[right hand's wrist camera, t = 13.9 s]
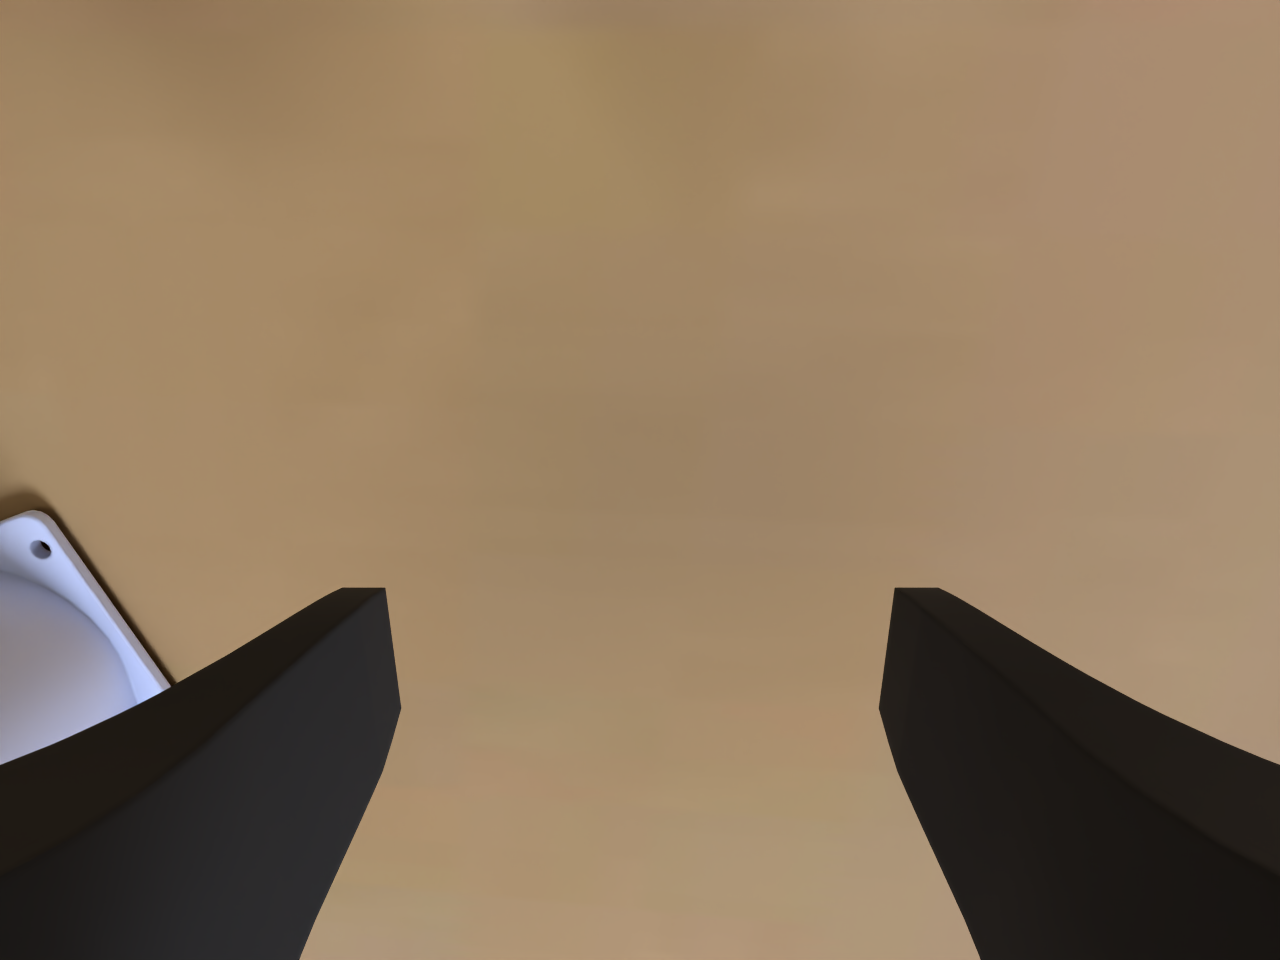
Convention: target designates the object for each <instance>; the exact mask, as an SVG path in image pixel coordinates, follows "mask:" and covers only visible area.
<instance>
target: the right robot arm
mask: <svg viewBox="0 0 1280 960" xmlns="http://www.w3.org/2000/svg"><path fill="white" fill-rule="evenodd" d="M41 541H42V542H45V543H46V544H47V545H48V546H49V547H50V550H51V551H48V550H46V549H45V548H44V547H43V546H42V544H41ZM400 711H401V703H400V696H399V688H398V681H397V673H396V666H395V658H394V650H393V643H392V635H391V628H390V620H389V613H388V605H387V598H386V590H385V588H341V589H339V590H336V591H334V592H332V593H330V594H328V595H326V596H325V597H323V598H321V599H319V600H318V601H316V602H314V603H312V604H311V605H309V606H307V607H306V608H304V609H302V610H301V611H299V612H297V613H296V614H294V615H292V616H291V617H289V618H288V619H286V620H284V621H283V622H281V623H279V624H278V625H276V626H274V627H273V628H271V629H270V630H268V631H266V632H265V633H263V634H261V635H260V636H258V637H256V638H255V639H253V640H251V641H250V642H248V643H247V644H245V645H243V646H242V647H240V648H238V649H237V650H235V651H233V652H232V653H230V654H228V655H227V656H225V657H223V658H221V659H220V660H218V661H216V662H214V663H212V664H211V665H209V666H207V667H205V668H203V669H202V670H200V671H198V672H196V673H194V674H193V675H191V676H189V677H187V678H186V679H184V680H182V681H180V682H178V683H177V684H175V685H173V686H170V684H169V683H168V681H167V680H166V679H165V677H164V676H163V674H162V673H161V672H160V670H159V669H158V667H157V666H156V665H155V663H154V662H153V660H152V659H151V657H150V656H149V655H148V653H147V652H146V650H145V649H144V648H143V646H142V645H141V643H140V642H139V640H138V639H137V638H136V636H135V635H134V633H133V632H132V631H131V629H130V628H129V626H128V625H127V624H126V622H125V621H124V619H123V618H122V616H121V615H120V614H119V612H118V611H117V609H116V608H115V607H114V605H113V604H112V602H111V601H110V600H109V598H108V597H107V595H106V594H105V592H104V591H103V590H102V588H101V587H100V585H99V584H98V583H97V581H96V580H95V578H94V577H93V575H92V574H91V573H90V571H89V570H88V568H87V567H86V566H85V564H84V563H83V561H82V560H81V559H80V557H79V556H78V554H77V553H76V551H75V550H74V549H73V547H72V546H71V544H70V543H69V542H68V540H67V539H66V537H65V536H64V535H63V533H62V532H61V530H60V529H59V527H58V526H57V525H56V523H55V522H54V521H53V520H52V519H51V518H50V517H49V516H48V515H47V514H45V513H43V512H41V511H36V510H30V511H25V512H23V513H20V514H18V515H15V516H12V517H10V518H7V519H5V520H2V521H0V960H299V959H300V956H301V954H302V951H303V949H304V946H305V944H306V941H307V939H308V936H309V934H310V932H311V929H312V927H313V924H314V922H315V919H316V917H317V915H318V913H319V911H320V908H321V906H322V904H323V902H324V900H325V898H326V895H327V893H328V891H329V889H330V887H331V884H332V882H333V880H334V878H335V876H336V873H337V871H338V869H339V867H340V865H341V863H342V860H343V858H344V856H345V854H346V852H347V849H348V847H349V845H350V843H351V841H352V839H353V836H354V834H355V832H356V830H357V828H358V825H359V823H360V821H361V819H362V817H363V814H364V812H365V810H366V808H367V805H368V803H369V801H370V799H371V797H372V794H373V792H374V790H375V788H376V785H377V783H378V781H379V778H380V776H381V774H382V771H383V768H384V765H385V762H386V759H387V755H388V752H389V749H390V746H391V743H392V739H393V735H394V732H395V728H396V725H397V721H398V718H399V714H400ZM879 711H880V714H881V718H882V721H883V725H884V728H885V732H886V735H887V739H888V743H889V746H890V749H891V752H892V755H893V759H894V762H895V765H896V768H897V771H898V774H899V776H900V778H901V781H902V783H903V785H904V788H905V790H906V792H907V794H908V797H909V799H910V801H911V803H912V805H913V808H914V810H915V812H916V814H917V817H918V819H919V821H920V823H921V825H922V828H923V830H924V832H925V834H926V836H927V839H928V841H929V843H930V845H931V847H932V849H933V852H934V854H935V856H936V858H937V860H938V863H939V865H940V867H941V869H942V871H943V873H944V876H945V878H946V880H947V882H948V884H949V887H950V889H951V891H952V893H953V895H954V898H955V900H956V902H957V904H958V906H959V908H960V911H961V913H962V915H963V917H964V919H965V922H966V924H967V927H968V929H969V932H970V934H971V936H972V939H973V941H974V944H975V946H976V949H977V951H978V954H979V956H980V959H981V960H1280V765H1279V764H1276V763H1273V762H1271V761H1268V760H1266V759H1263V758H1261V757H1258V756H1256V755H1253V754H1251V753H1249V752H1246V751H1244V750H1241V749H1239V748H1237V747H1234V746H1232V745H1229V744H1227V743H1225V742H1222V741H1220V740H1218V739H1216V738H1214V737H1211V736H1209V735H1207V734H1205V733H1203V732H1201V731H1198V730H1196V729H1194V728H1192V727H1190V726H1187V725H1185V724H1183V723H1181V722H1179V721H1176V720H1174V719H1172V718H1170V717H1168V716H1166V715H1163V714H1161V713H1159V712H1157V711H1155V710H1153V709H1151V708H1149V707H1147V706H1145V705H1143V704H1141V703H1139V702H1137V701H1135V700H1133V699H1132V698H1130V697H1128V696H1126V695H1124V694H1122V693H1120V692H1119V691H1117V690H1115V689H1113V688H1111V687H1109V686H1107V685H1105V684H1104V683H1102V682H1100V681H1098V680H1096V679H1094V678H1092V677H1091V676H1089V675H1087V674H1085V673H1083V672H1082V671H1080V670H1078V669H1076V668H1075V667H1073V666H1071V665H1069V664H1068V663H1066V662H1064V661H1063V660H1061V659H1059V658H1057V657H1056V656H1054V655H1052V654H1051V653H1049V652H1047V651H1046V650H1044V649H1042V648H1041V647H1039V646H1037V645H1036V644H1034V643H1032V642H1031V641H1029V640H1027V639H1026V638H1024V637H1022V636H1021V635H1019V634H1017V633H1016V632H1014V631H1013V630H1011V629H1009V628H1008V627H1006V626H1004V625H1003V624H1001V623H999V622H998V621H996V620H995V619H993V618H991V617H990V616H988V615H986V614H985V613H983V612H981V611H980V610H978V609H977V608H975V607H973V606H971V605H970V604H968V603H966V602H965V601H963V600H961V599H959V598H958V597H956V596H954V595H952V594H950V593H948V592H946V591H944V590H942V589H940V588H895V590H894V598H893V605H892V613H891V620H890V628H889V635H888V643H887V650H886V658H885V666H884V673H883V681H882V688H881V696H880V703H879Z"/></svg>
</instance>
